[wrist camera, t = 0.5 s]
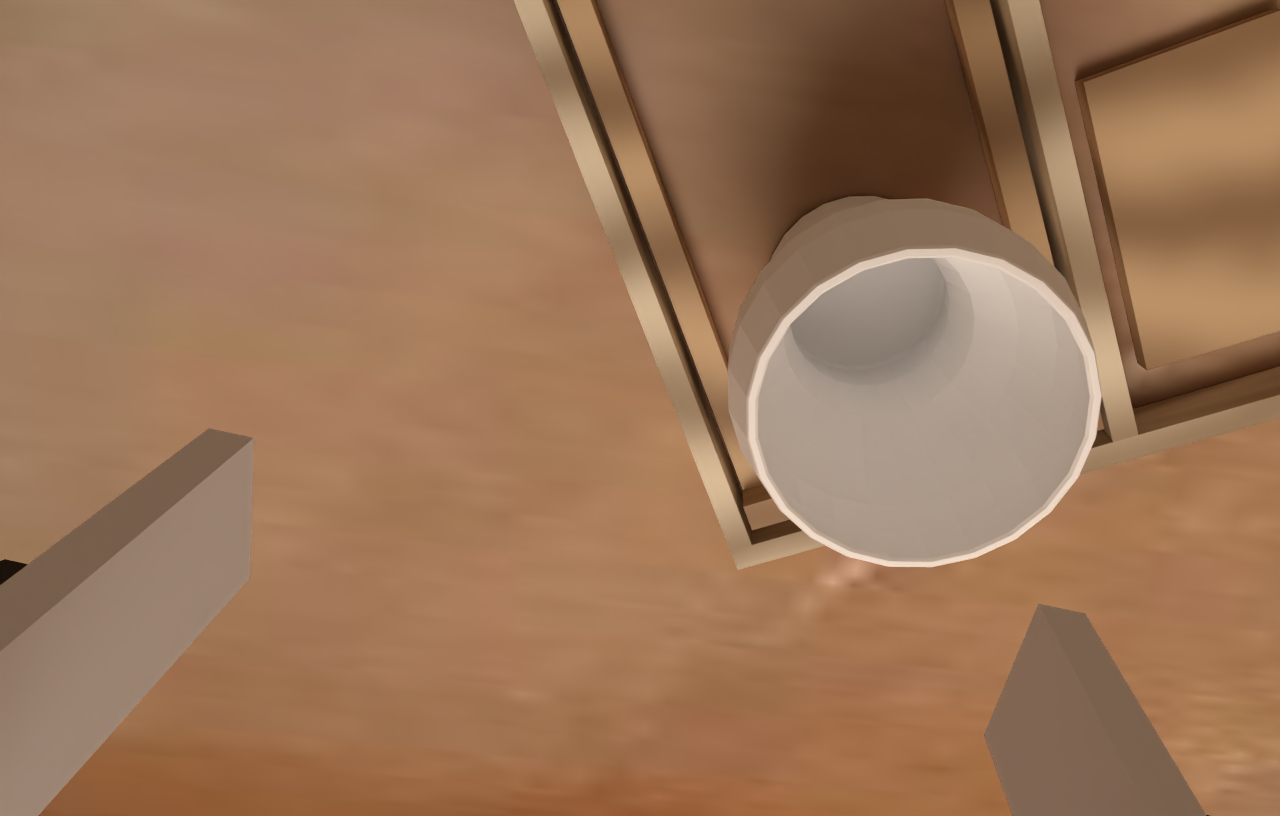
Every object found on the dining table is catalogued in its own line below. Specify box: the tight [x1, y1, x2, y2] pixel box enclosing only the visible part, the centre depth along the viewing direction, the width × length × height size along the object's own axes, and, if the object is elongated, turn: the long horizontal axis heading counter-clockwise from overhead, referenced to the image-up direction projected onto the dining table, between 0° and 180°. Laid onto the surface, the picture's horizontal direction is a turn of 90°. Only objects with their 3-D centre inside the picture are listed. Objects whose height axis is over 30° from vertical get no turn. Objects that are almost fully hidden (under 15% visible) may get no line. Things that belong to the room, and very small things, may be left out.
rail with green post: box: [557, 0, 1104, 530], centre depth 32 cm, size 27×15×12 cm, turn 21°
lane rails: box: [514, 0, 1280, 570], centre depth 36 cm, size 31×28×2 cm
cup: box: [728, 196, 1102, 567], centre depth 33 cm, size 11×11×15 cm
